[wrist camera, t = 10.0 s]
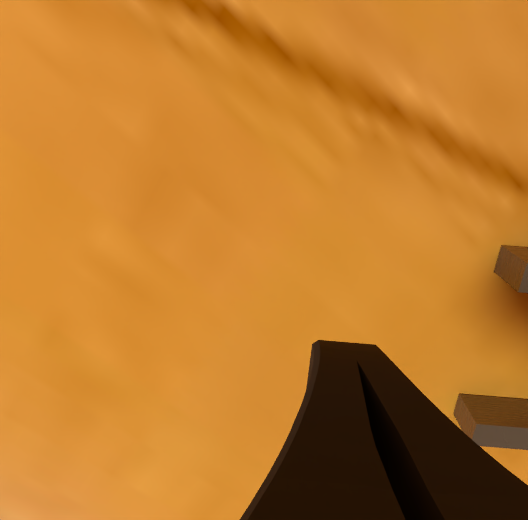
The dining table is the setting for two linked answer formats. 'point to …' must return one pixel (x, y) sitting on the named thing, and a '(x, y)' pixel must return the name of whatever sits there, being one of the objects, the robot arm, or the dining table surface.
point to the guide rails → (498, 408)
